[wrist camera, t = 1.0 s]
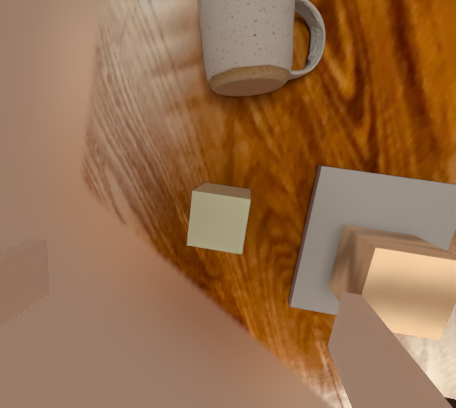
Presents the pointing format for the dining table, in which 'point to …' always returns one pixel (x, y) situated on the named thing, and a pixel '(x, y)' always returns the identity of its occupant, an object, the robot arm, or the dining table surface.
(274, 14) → the ceramic mug
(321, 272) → the board
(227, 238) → the sage block
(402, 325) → the base block
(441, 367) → the dining table surface
